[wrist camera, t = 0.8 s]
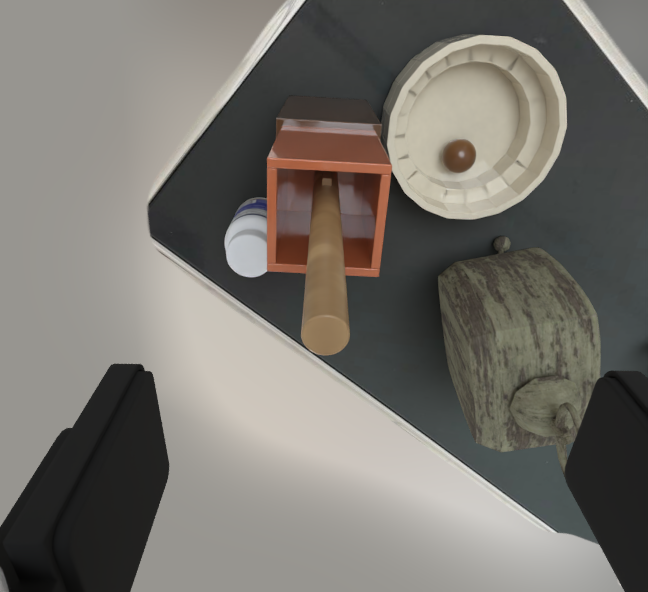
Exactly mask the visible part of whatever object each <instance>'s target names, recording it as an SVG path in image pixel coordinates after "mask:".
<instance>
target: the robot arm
mask: <svg viewBox="0 0 648 592" xmlns="http://www.w3.org/2000/svg"><path fill="white" fill-rule="evenodd" d="M168 474H169V461H168V455H167V449H166V444H165V439H164V433H163V427H162V422H161V417H160V411H159V405H158V400H157V394H156V389H155V383H154V377H153V374H152V372H150V371H145V370H144V368H143V366H142V365H141V364H113V365H111V366H110V367H109V369H108V370H107V372H106V374H105V375H104V377H103V379H102V380H101V382H100V383H99V386H98V387H97V388H96V390H95V392H94V393H93V395H92V397H91V398H90V400H89V402H88V403H87V405H86V406H85V408H84V410H83V411H82V413H81V415H80V416H79V418H78V420H77V421H76V423H75V424H74V426H73V428H67V429H65V430H63V431H62V432H61V433H60V435H59V436H58V437H57V438H56V440H55V442H54V443H53V445H52V446H51V448H50V449H49V451H48V453H47V454H46V456H45V457H44V459H43V461H42V462H41V464H40V465H39V467H38V468H37V470H36V472H35V473H34V475H33V476H32V478H31V480H30V481H29V483H28V484H27V486H26V487H25V489H24V491H23V492H22V494H21V495H20V497H19V498H18V500H17V502H16V503H15V505H14V507H13V508H12V509H11V511H10V513H9V514H8V516H7V517H6V519H5V521H4V522H3V524H2V525H1V527H0V592H130V591H131V588H132V585H133V582H134V578H135V576H136V573H137V570H138V567H139V564H140V561H141V558H142V555H143V552H144V549H145V546H146V542H147V540H148V536H149V534H150V531H151V528H152V525H153V521H154V519H155V515H156V513H157V509H158V507H159V504H160V501H161V498H162V494H163V492H164V489H165V486H166V483H167V479H168ZM565 479H566V483H567V485H568V487H569V489H570V491H571V492H572V494H573V496H574V498H575V500H576V502H577V504H578V506H579V507H580V509H581V511H582V513H583V515H584V517H585V519H586V520H587V522H588V524H589V526H590V528H591V530H592V532H593V533H594V535H595V537H596V539H597V541H598V543H599V545H600V546H601V548H602V550H603V552H604V554H605V556H606V558H607V560H608V561H609V563H610V565H611V567H612V569H613V571H614V573H615V574H616V576H617V578H618V580H619V582H620V584H621V586H622V587H623V589H624V591H625V592H648V378H647V377H646V376H645V375H644V374H642V373H641V372H638V371H609V372H607V373H606V374H605V375H604V377H603V378H599V379H598V380H597V382H596V384H595V386H594V389H593V392H592V395H591V397H590V400H589V403H588V406H587V408H586V411H585V414H584V416H583V419H582V422H581V425H580V427H579V430H578V433H577V436H576V438H575V441H574V444H573V447H572V449H571V452H570V455H569V457H568V460H567V463H566V466H565Z"/></svg>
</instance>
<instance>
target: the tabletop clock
mask: <svg viewBox="0 0 648 592" xmlns="http://www.w3.org/2000/svg"><path fill="white" fill-rule="evenodd" d="M510 244H511V243H510V240H509V238H507V237H505V236H499V237H498V238H496V239H495V241H494V244H493V245H494V247H495V249H496V250H497V251H498V254H496V255H490V256H485V257H480V258H474V259H469V260H463V261H458V262H454V263H453V264H452V265H451V266H450V267H448V268H447V269H446V270H445V271H444V272H442V273H441V274H440V275H439V276H438V288H439V298H440V307H441V317H442V325H443V333H444V341H445V349H446V356H447V362H448V367H449V371H450V374H451V378H452V381H453V384H454V387H455V390H456V393H457V396H458V399H459V401H460V404H461V407H462V410H463V413H464V415H465V418H466V421H467V423H468V426H469V429H470V431H471V433H472V436H473V438H474V440H475V442H476V443H478V444H481V445H484V446H486V447H489V448H491V449H494V450H496V451H499V452H506V451H513V450H520V449H527V448H533V447H540V446H547V445H554V444H556V447H557V453H558V459H559V462H560V465H561V468H562V471H563V474H564V477H565V466H566V463H567V451H566V444H570V443H571V442H574V441H575V438H576V436H577V433H578V430H579V427H580V425H581V422H582V419H583V416H584V414H585V411H586V408H587V406H588V403H589V400H590V397H591V395H592V392H593V389H594V386H595V384H596V382H597V380H598V379H599V378H600V357H601V344H600V331H599V325H598V318H597V314H596V312H595V310H594V308H593V306H592V304H591V302H590V301H589V299H588V297H587V296H586V294H585V293H584V291H583V290H582V289H581V287H580V286H579V284H578V283H577V282H576V281H575V280H574V279H573V277H572V276H571V275H570V274H569V273H568V272H567V270H566V269H565V268H564V267H563V266H562V265H561V264H560V263H559V262H558V261H557V260H555V259H554V258H553V257H552V256H551V255H549V254H548V253H547V252H546V251H544V250H542V249H540V248H528V249H523V250H517V251H512V252H506V253H504V252H505V251H506V250H508V249H509V247H510Z"/></svg>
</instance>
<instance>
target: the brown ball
mask: <svg viewBox="0 0 648 592" xmlns="http://www.w3.org/2000/svg"><path fill="white" fill-rule="evenodd" d="M475 160H476V149H475V147H474V145H473V144H472V143H471V142H470V141H468V140H466V139H462V138H461V139H454V140H452V141H450V142H449V143H448V144H447V145H446V146H445V148H444V149H443V152H442V162H443V164H444V166H445V167H446V169H448V170H449V171H451V172H453V173H462V172H465V171H467V170H469V169H470V168H471V167H472V166H473V164H474V163H475Z"/></svg>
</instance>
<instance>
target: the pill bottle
mask: <svg viewBox="0 0 648 592" xmlns="http://www.w3.org/2000/svg"><path fill="white" fill-rule="evenodd" d="M225 249H226V257H227V261H228V264H229V265H230V267H231V268H232V269H233V270H234V271H235V272H236V273H238V274H240V275H242V276H245V277H257V276H260V275H262V274H264V273H265V272H267V198H261V197H257V198H252V199H249V200H247V201H245V202H244V203H243V204H242V205H241V206H240V207H239V208H238V210H237V211H236V213H235V216H234V218H233V220H232V222H231V224H230V226H229V227H228V230H227V232H226V235H225Z"/></svg>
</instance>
